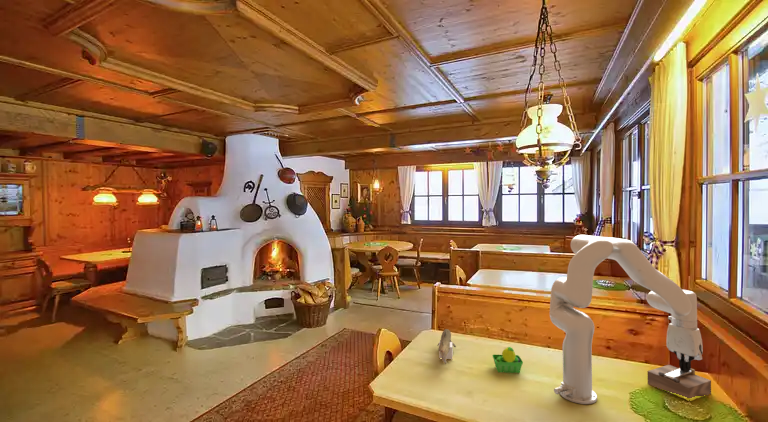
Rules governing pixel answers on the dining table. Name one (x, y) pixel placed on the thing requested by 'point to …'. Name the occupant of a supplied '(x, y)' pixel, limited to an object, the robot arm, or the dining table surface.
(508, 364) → the fruit basket
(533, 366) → the dining table surface
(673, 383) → the walnut box
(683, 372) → the steel strap
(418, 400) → the dining table surface
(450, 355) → the wood carving
